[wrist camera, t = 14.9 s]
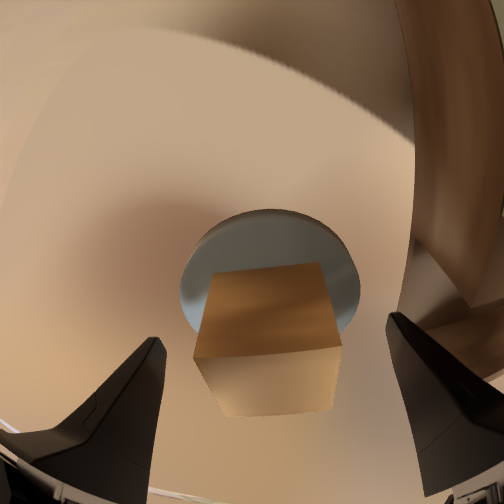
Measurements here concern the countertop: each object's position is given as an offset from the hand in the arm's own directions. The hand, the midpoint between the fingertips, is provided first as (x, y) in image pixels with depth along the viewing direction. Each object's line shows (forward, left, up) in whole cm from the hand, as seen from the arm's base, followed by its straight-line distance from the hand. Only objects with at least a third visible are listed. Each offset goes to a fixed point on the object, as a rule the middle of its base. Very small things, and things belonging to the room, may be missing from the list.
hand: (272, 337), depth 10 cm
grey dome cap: (0, 0, -3) cm, 3 cm away
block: (0, 0, -2) cm, 2 cm away
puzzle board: (-12, -4, -3) cm, 13 cm away
